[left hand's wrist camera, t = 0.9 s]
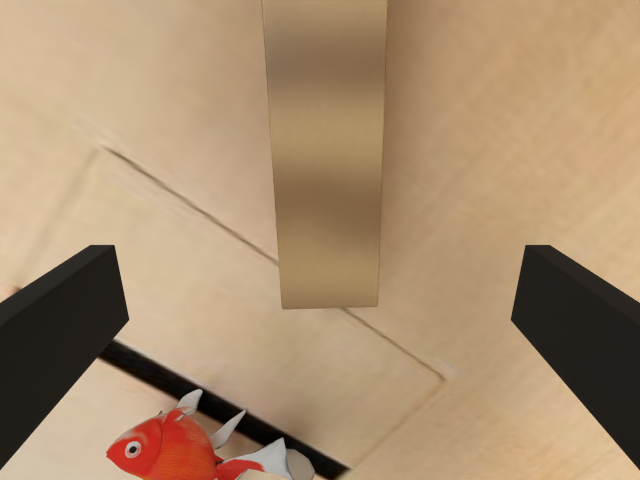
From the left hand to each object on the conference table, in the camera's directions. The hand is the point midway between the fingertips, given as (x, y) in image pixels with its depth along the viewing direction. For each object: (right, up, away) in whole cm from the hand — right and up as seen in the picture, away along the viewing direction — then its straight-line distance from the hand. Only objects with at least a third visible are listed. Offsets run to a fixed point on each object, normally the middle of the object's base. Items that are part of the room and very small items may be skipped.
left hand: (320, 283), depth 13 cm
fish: (-8, -14, +21) cm, 27 cm away
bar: (0, +11, +12) cm, 16 cm away
